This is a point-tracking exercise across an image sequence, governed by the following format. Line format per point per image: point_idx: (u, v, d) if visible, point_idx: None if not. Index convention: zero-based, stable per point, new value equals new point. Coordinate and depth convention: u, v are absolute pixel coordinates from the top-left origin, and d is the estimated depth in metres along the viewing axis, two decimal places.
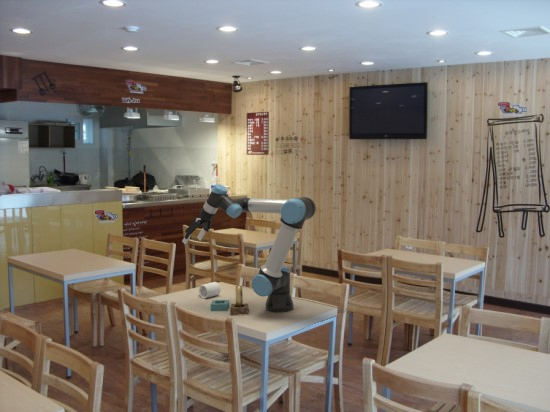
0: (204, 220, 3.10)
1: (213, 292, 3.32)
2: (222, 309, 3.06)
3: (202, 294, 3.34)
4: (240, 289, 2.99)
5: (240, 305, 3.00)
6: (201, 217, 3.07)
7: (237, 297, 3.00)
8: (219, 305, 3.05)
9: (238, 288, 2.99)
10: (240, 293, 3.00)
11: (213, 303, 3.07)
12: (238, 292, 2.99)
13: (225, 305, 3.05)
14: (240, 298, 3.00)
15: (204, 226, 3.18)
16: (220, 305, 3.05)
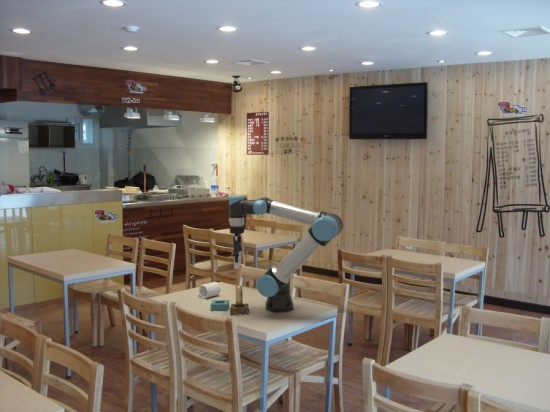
0: (239, 237, 2.97)
1: (213, 292, 3.32)
2: (222, 309, 3.06)
3: (202, 294, 3.34)
4: (240, 289, 2.99)
5: (240, 305, 3.00)
6: (236, 234, 2.95)
7: (237, 297, 3.00)
8: (219, 305, 3.05)
9: (238, 288, 2.99)
10: (240, 293, 3.00)
11: (213, 303, 3.07)
12: (238, 292, 2.99)
13: (225, 305, 3.05)
14: (240, 298, 3.00)
15: None
16: (220, 305, 3.05)
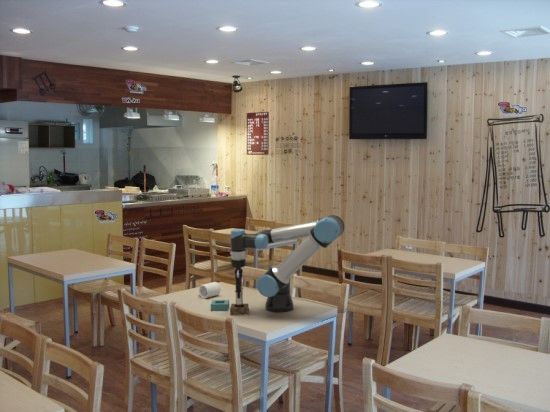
0: (240, 270, 2.99)
1: (213, 292, 3.32)
2: (222, 309, 3.06)
3: (202, 294, 3.34)
4: None
5: (240, 305, 3.00)
6: (238, 268, 2.96)
7: None
8: (219, 305, 3.05)
9: None
10: None
11: (213, 303, 3.07)
12: None
13: (225, 305, 3.05)
14: None
15: None
16: (220, 305, 3.05)
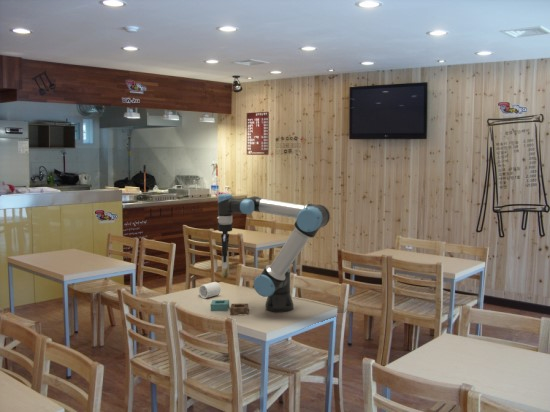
0: (227, 234, 3.02)
1: (213, 292, 3.32)
2: (222, 309, 3.06)
3: (202, 294, 3.34)
4: None
5: (226, 270, 3.04)
6: (224, 232, 2.99)
7: None
8: (219, 305, 3.05)
9: None
10: None
11: (213, 303, 3.07)
12: None
13: (225, 305, 3.05)
14: None
15: None
16: (220, 305, 3.05)
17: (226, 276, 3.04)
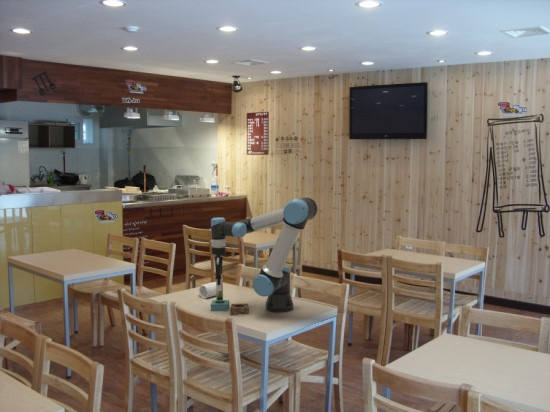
0: (220, 257, 3.06)
1: (213, 292, 3.32)
2: (222, 309, 3.06)
3: (202, 294, 3.34)
4: None
5: (220, 293, 3.08)
6: (218, 255, 3.04)
7: None
8: (219, 305, 3.05)
9: None
10: None
11: (213, 303, 3.07)
12: None
13: (225, 305, 3.05)
14: None
15: None
16: (220, 305, 3.05)
17: (220, 299, 3.08)
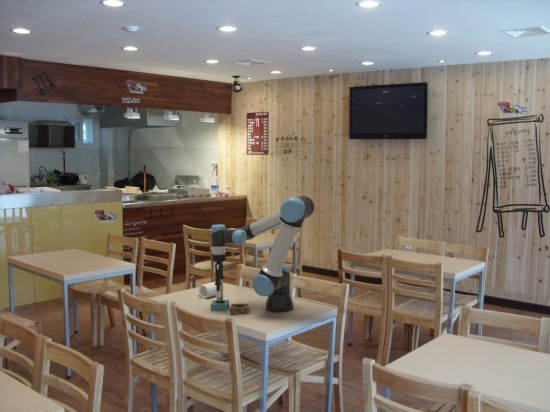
0: (221, 264, 3.07)
1: (213, 292, 3.32)
2: (222, 309, 3.06)
3: (202, 294, 3.34)
4: None
5: (221, 302, 3.08)
6: (218, 262, 3.04)
7: None
8: (219, 305, 3.05)
9: None
10: None
11: (213, 303, 3.07)
12: None
13: (225, 305, 3.05)
14: None
15: None
16: (220, 305, 3.05)
17: None
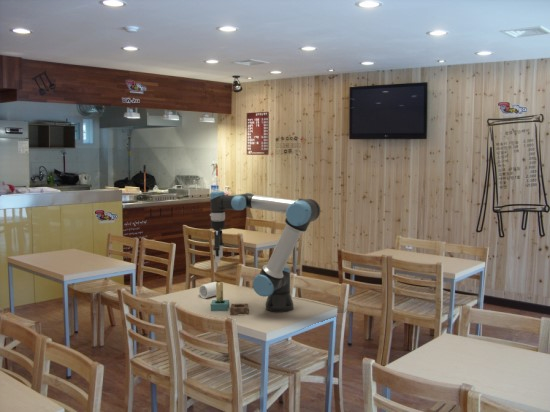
0: (220, 231, 3.05)
1: (213, 292, 3.32)
2: (222, 309, 3.06)
3: (202, 294, 3.34)
4: (220, 286, 3.07)
5: (221, 302, 3.08)
6: (217, 229, 3.02)
7: (217, 293, 3.08)
8: (219, 305, 3.05)
9: (218, 285, 3.07)
10: (220, 290, 3.08)
11: (213, 303, 3.07)
12: (218, 289, 3.07)
13: (225, 305, 3.05)
14: (220, 294, 3.08)
15: (219, 241, 3.12)
16: (220, 305, 3.05)
17: None
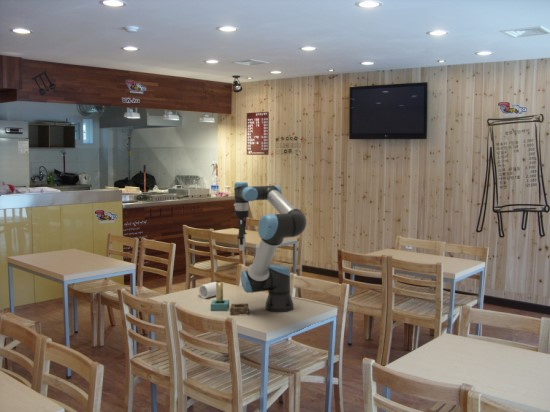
0: (243, 220, 3.16)
1: (213, 292, 3.32)
2: (222, 309, 3.06)
3: (202, 294, 3.34)
4: (220, 286, 3.07)
5: (221, 302, 3.08)
6: (241, 218, 3.13)
7: (217, 293, 3.08)
8: (219, 305, 3.05)
9: (218, 285, 3.07)
10: (220, 290, 3.08)
11: (213, 303, 3.07)
12: (218, 289, 3.07)
13: (225, 305, 3.05)
14: (220, 294, 3.08)
15: None
16: (220, 305, 3.05)
17: None
